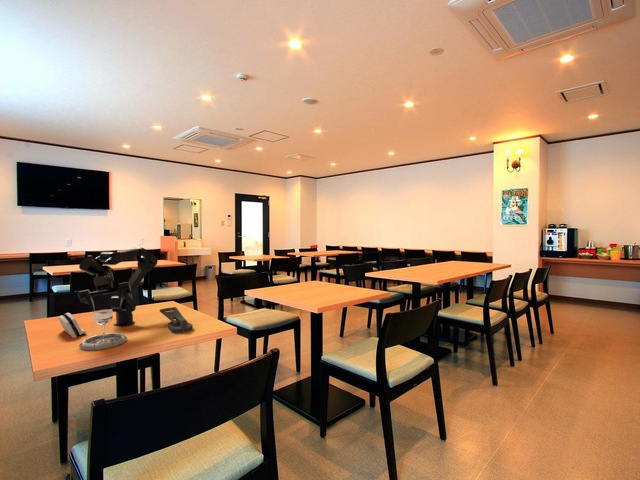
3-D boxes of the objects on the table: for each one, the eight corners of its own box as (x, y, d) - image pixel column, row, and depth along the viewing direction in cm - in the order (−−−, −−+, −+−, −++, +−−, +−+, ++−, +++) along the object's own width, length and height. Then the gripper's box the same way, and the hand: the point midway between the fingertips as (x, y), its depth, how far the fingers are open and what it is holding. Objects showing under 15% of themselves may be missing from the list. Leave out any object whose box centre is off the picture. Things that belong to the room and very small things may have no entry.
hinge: (87, 335, 148) (77, 314, 145) (75, 341, 144) (64, 320, 142) (77, 327, 159) (67, 308, 156) (65, 333, 156) (55, 314, 153)
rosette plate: (68, 348, 130) (68, 343, 130) (104, 335, 146) (104, 331, 146) (103, 352, 126) (103, 346, 126) (136, 338, 142) (136, 333, 142)
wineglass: (96, 339, 138) (94, 310, 138) (115, 337, 141) (114, 308, 140) (91, 345, 132) (90, 314, 131) (111, 342, 134) (110, 312, 134)
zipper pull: (176, 306, 171) (194, 315, 152) (177, 319, 171) (195, 330, 152) (157, 309, 165) (173, 319, 146) (158, 323, 166) (174, 334, 146)
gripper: (73, 273, 141) (74, 306, 133) (124, 263, 149) (128, 295, 141) (81, 286, 149) (82, 318, 142) (129, 277, 157) (133, 307, 150)
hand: (106, 309), depth 143 cm, fingers open, 9 cm apart
